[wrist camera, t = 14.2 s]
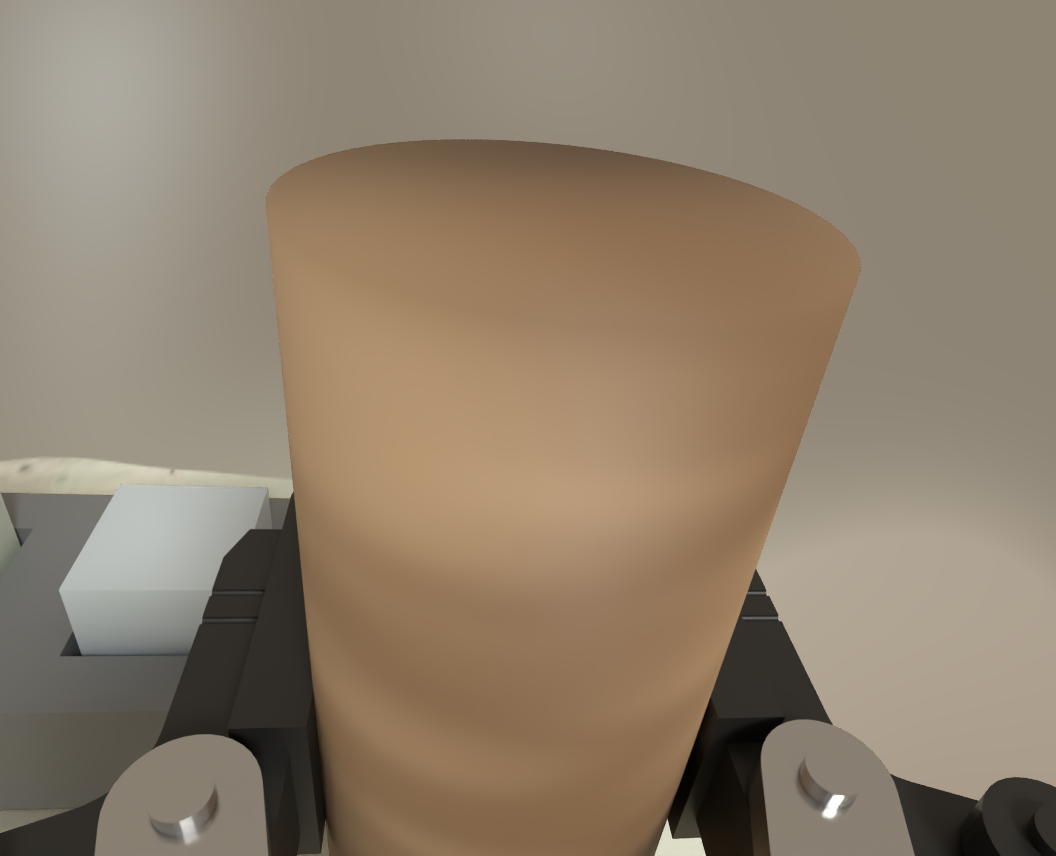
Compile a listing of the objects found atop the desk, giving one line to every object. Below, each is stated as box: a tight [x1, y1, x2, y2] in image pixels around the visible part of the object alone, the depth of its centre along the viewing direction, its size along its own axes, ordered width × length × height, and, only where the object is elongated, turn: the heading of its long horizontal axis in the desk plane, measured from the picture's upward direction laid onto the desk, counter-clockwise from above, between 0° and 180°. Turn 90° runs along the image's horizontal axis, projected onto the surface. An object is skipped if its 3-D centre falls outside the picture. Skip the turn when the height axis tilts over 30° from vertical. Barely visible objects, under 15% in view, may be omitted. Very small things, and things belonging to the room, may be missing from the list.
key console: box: [0, 493, 290, 810], centre depth 27 cm, size 27×10×5 cm, turn 95°
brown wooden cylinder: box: [266, 140, 861, 856], centre depth 9 cm, size 4×4×14 cm
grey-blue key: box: [59, 484, 273, 656], centre depth 25 cm, size 5×5×4 cm
